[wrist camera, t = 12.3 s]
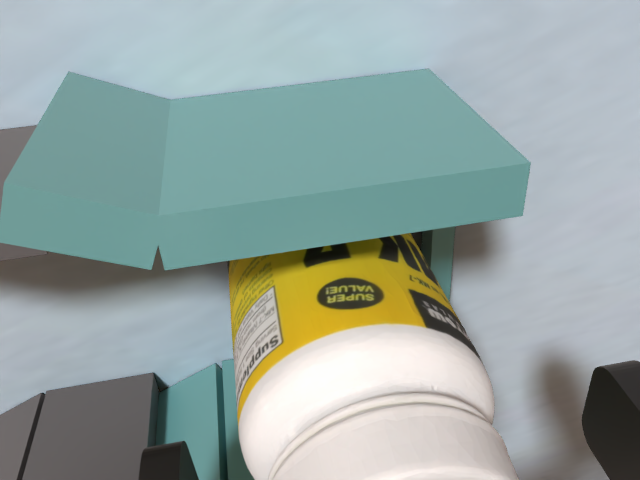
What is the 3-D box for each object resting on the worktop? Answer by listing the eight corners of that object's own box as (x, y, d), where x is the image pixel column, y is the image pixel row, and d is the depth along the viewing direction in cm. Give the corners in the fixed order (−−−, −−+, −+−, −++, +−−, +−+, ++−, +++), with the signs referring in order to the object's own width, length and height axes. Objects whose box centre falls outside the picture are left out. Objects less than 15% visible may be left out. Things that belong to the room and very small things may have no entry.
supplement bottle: (433, 200, 16) (623, 478, 9) (354, 329, 18) (457, 638, 11) (266, 140, 14) (337, 429, 7) (200, 292, 16) (203, 631, 9)
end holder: (456, 27, 13) (575, 107, 9) (434, 366, 19) (499, 508, 15) (47, 73, 12) (-28, 187, 8) (159, 416, 18) (148, 581, 14)
